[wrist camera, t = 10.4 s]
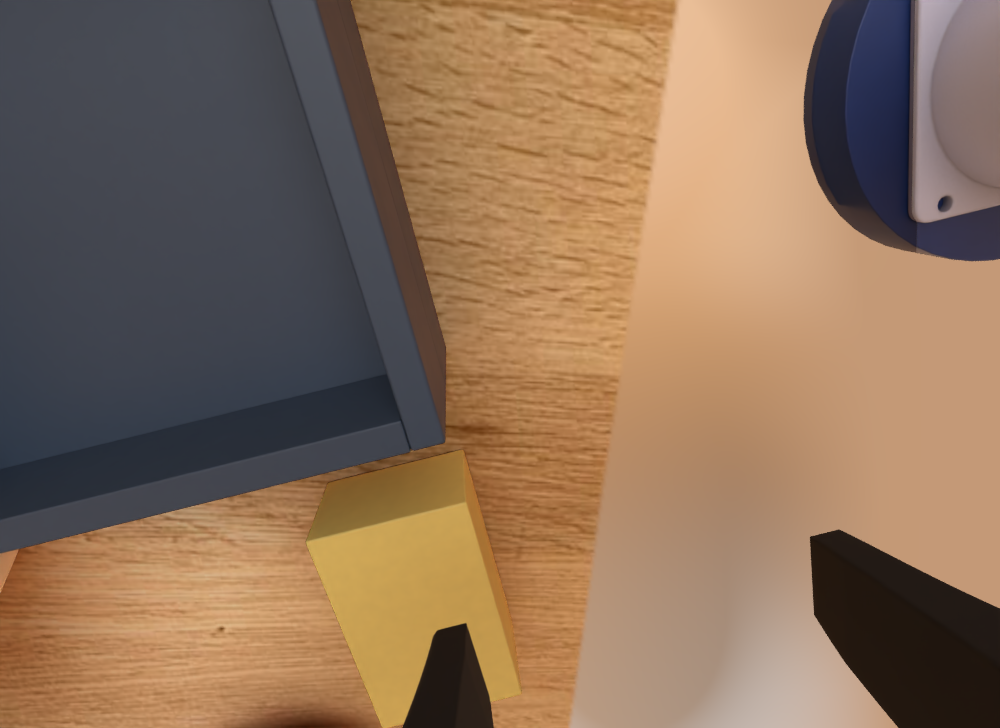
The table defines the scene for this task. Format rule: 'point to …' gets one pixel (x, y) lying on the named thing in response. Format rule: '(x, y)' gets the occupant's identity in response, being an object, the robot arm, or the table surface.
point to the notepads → (412, 576)
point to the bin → (198, 261)
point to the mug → (6, 565)
